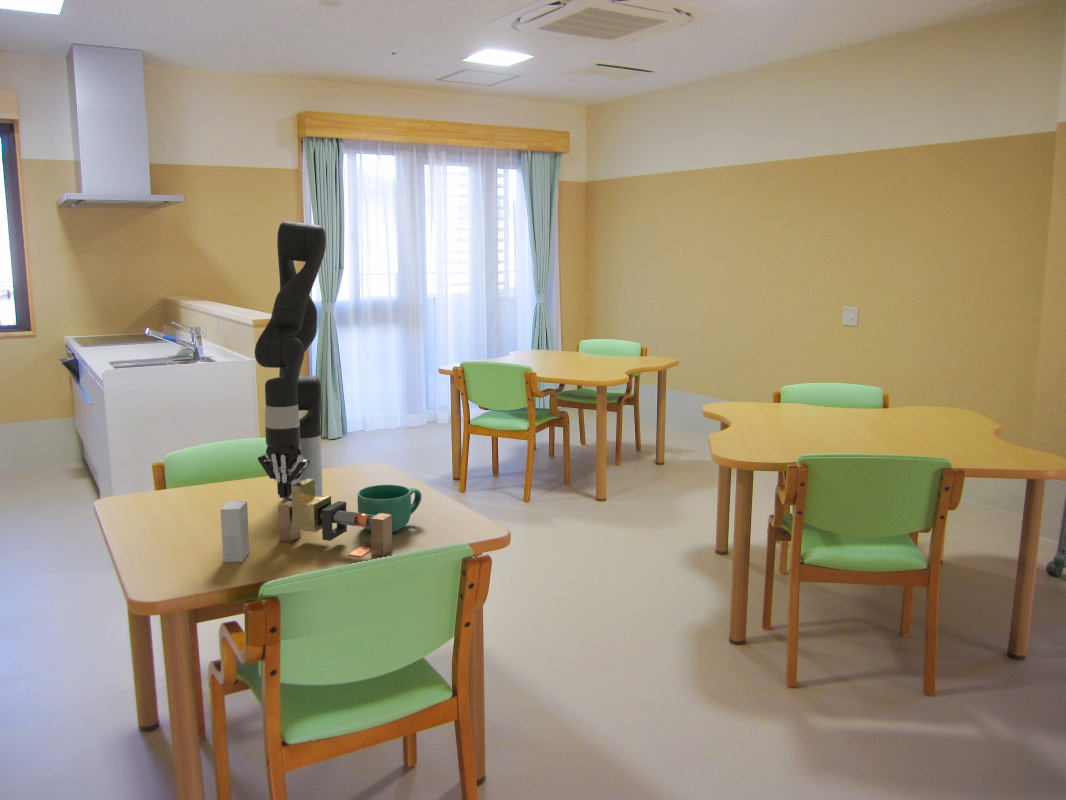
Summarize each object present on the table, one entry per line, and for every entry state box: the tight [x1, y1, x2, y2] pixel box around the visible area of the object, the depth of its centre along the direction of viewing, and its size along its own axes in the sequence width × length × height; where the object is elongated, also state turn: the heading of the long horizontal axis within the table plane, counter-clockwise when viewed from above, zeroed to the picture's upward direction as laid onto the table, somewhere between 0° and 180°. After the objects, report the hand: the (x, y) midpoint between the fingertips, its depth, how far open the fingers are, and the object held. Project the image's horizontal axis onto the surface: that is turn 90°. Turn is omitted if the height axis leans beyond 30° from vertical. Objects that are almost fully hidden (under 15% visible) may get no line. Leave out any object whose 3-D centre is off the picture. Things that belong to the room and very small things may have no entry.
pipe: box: [277, 500, 393, 558], centre depth 185 cm, size 27×8×8 cm, turn 72°
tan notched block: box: [291, 479, 332, 533], centre depth 186 cm, size 6×7×10 cm
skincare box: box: [220, 500, 250, 563], centre depth 177 cm, size 6×4×12 cm
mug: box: [357, 484, 422, 533], centre depth 198 cm, size 17×13×10 cm
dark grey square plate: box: [321, 500, 348, 542], centre depth 185 cm, size 2×7×7 cm, turn 161°
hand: (284, 497), depth 188 cm, fingers closed
